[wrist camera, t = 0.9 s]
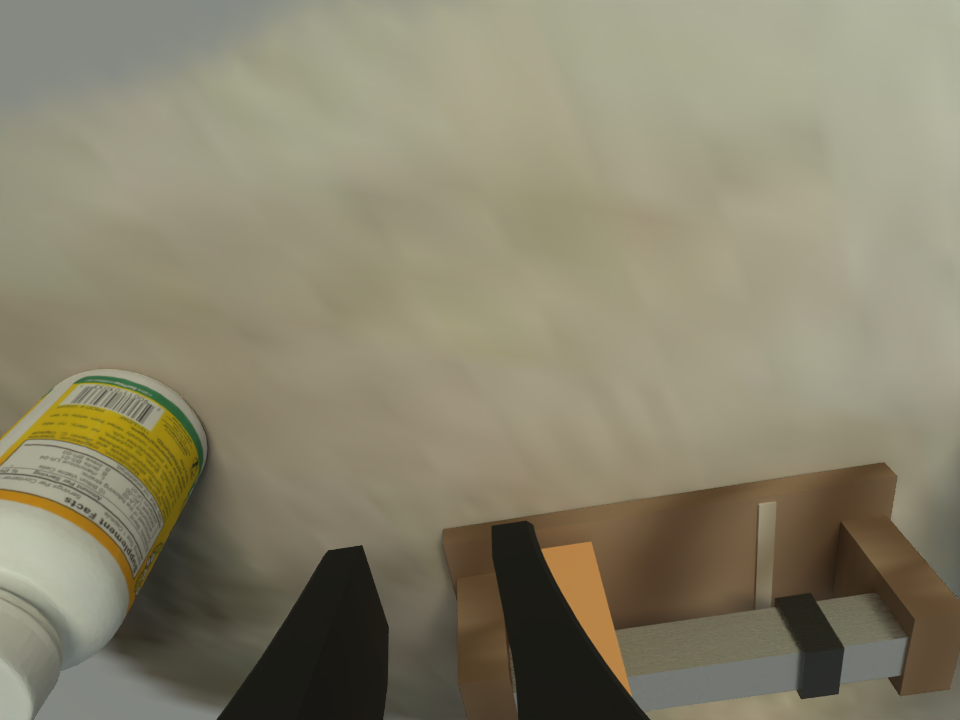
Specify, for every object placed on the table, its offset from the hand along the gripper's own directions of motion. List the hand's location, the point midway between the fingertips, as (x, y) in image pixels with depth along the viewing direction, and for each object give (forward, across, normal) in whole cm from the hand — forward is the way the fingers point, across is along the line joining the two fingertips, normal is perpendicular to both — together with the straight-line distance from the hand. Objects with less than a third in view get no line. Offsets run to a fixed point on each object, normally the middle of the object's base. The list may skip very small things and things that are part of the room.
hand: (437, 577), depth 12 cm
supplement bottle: (+11, +11, +2) cm, 15 cm away
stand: (+10, -6, +12) cm, 17 cm away
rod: (+7, -6, +11) cm, 15 cm away
